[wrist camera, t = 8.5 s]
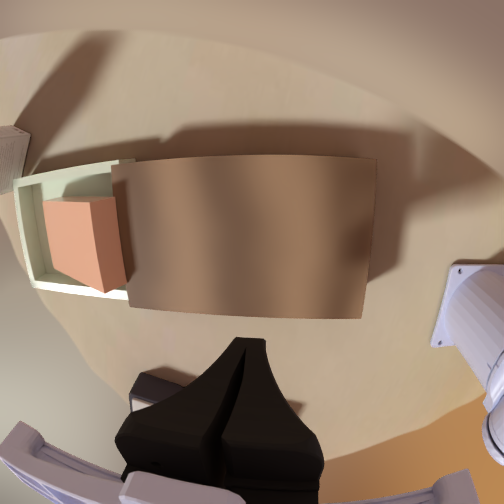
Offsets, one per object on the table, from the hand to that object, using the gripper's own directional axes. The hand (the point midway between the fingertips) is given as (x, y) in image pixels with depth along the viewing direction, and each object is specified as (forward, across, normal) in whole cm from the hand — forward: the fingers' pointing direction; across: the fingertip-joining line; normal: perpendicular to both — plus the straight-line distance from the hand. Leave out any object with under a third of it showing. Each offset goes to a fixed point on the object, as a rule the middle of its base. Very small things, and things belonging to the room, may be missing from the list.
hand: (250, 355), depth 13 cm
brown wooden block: (+10, +2, -4) cm, 11 cm away
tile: (+8, +13, -3) cm, 16 cm away
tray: (+10, +16, -4) cm, 19 cm away
